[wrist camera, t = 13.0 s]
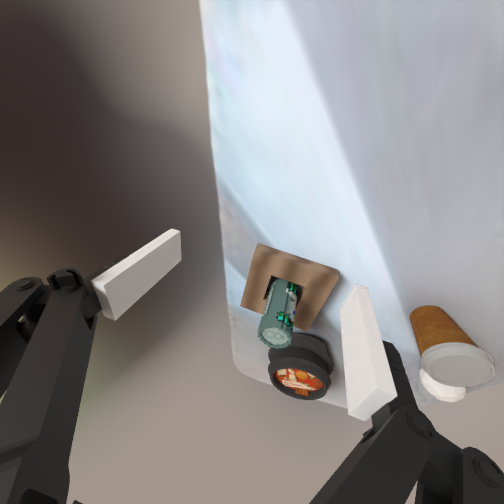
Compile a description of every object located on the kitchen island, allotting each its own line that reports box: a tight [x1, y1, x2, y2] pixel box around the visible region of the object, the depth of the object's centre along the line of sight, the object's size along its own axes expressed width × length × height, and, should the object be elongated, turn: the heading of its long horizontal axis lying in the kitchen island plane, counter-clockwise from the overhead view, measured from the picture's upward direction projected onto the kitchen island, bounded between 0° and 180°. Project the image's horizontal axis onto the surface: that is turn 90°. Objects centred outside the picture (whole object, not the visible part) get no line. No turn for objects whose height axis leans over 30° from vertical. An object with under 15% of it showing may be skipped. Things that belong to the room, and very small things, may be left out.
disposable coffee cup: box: [410, 306, 496, 387], centre depth 38 cm, size 10×10×12 cm
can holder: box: [240, 243, 339, 331], centre depth 48 cm, size 18×18×3 cm
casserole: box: [268, 333, 333, 400], centre depth 58 cm, size 25×19×8 cm
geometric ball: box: [419, 368, 466, 403], centre depth 46 cm, size 8×8×8 cm
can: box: [258, 277, 298, 349], centre depth 43 cm, size 6×6×15 cm
